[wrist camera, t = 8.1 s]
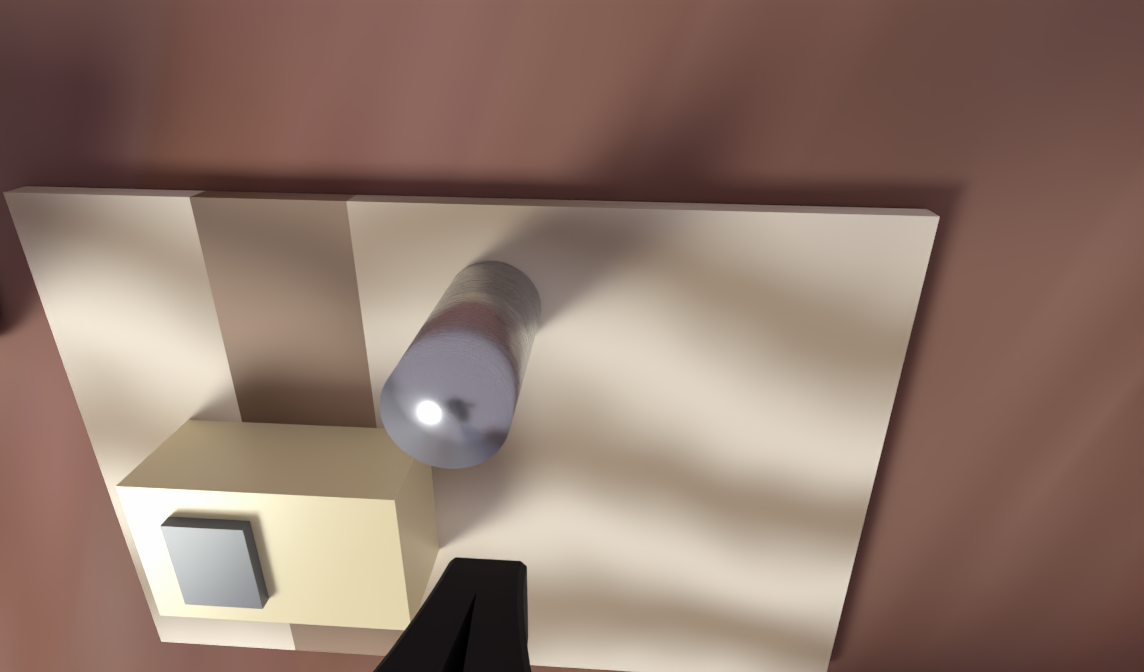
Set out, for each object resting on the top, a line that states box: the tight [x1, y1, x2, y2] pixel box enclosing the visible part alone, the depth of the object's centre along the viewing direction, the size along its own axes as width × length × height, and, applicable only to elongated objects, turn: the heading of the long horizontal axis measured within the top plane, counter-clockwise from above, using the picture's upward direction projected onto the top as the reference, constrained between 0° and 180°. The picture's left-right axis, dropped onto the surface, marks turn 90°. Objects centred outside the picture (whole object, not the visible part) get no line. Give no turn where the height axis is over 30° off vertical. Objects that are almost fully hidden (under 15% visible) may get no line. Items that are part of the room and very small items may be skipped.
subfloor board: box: [3, 186, 940, 672], centre depth 22 cm, size 18×26×1 cm
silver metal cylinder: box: [380, 261, 541, 469], centre depth 17 cm, size 3×3×6 cm
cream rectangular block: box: [116, 420, 439, 630], centre depth 21 cm, size 5×8×4 cm, turn 89°
